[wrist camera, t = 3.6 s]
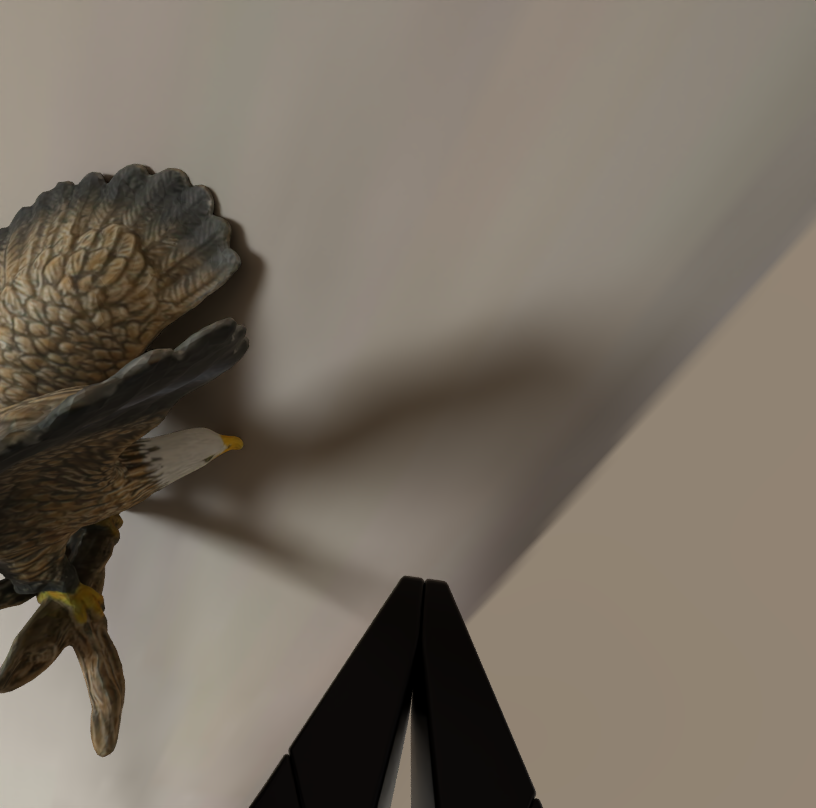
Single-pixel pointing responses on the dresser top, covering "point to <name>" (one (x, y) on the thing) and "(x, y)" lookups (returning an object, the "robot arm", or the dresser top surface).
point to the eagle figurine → (98, 398)
